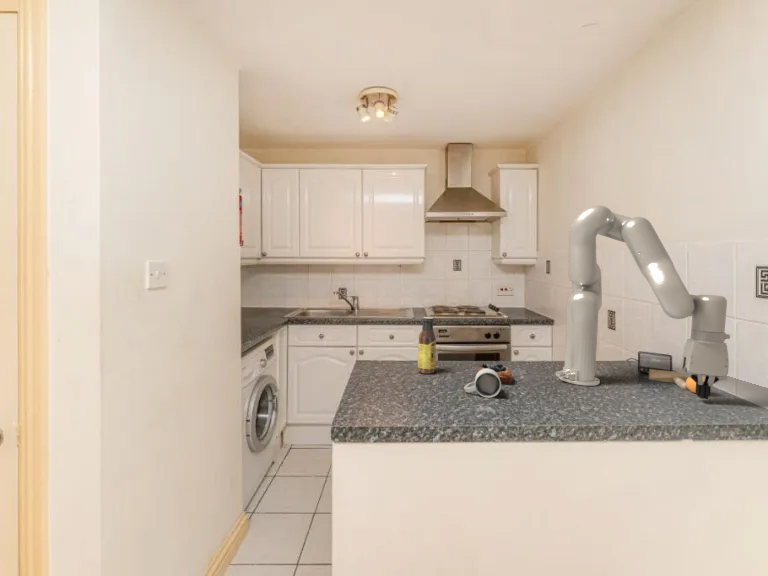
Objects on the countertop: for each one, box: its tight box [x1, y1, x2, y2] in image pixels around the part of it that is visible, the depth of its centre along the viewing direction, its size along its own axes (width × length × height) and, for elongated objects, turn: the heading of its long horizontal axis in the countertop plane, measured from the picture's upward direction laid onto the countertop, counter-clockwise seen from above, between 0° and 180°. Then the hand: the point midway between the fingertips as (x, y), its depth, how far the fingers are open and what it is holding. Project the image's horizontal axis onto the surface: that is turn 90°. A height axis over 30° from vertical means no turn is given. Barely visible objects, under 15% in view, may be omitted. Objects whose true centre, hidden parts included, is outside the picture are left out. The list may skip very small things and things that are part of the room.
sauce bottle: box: [417, 316, 437, 375], centre depth 137 cm, size 7×6×20 cm
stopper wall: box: [648, 368, 688, 384], centre depth 134 cm, size 2×14×4 cm, turn 71°
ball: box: [686, 375, 705, 394], centre depth 122 cm, size 6×6×6 cm
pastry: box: [476, 362, 514, 386], centre depth 131 cm, size 11×12×6 cm
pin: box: [673, 377, 690, 391], centre depth 129 cm, size 2×2×8 cm
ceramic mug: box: [463, 368, 502, 399], centre depth 116 cm, size 11×8×8 cm
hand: (702, 397), depth 113 cm, fingers closed
